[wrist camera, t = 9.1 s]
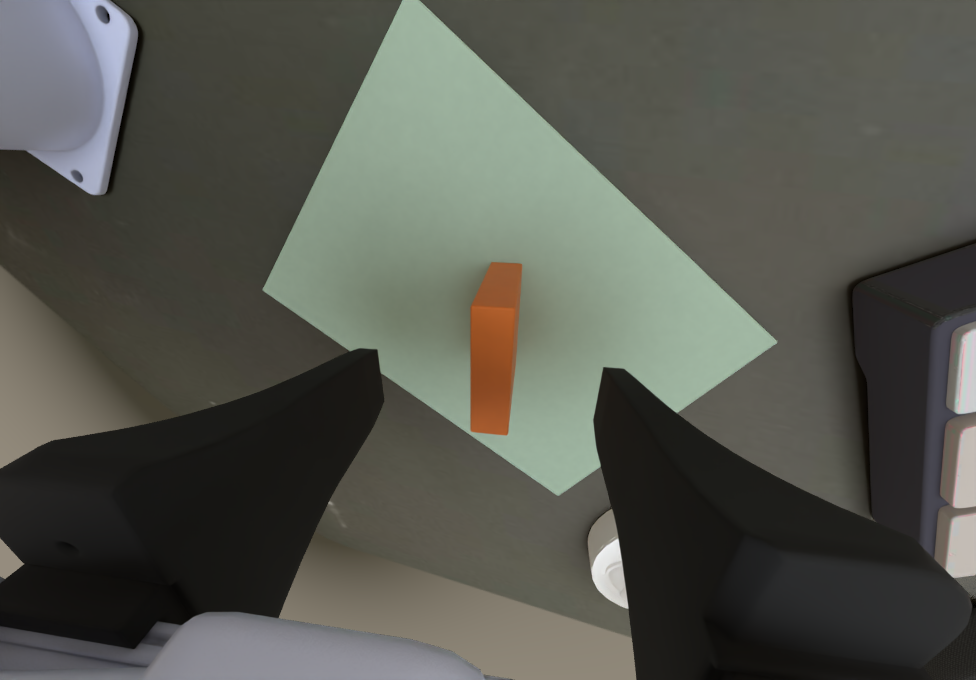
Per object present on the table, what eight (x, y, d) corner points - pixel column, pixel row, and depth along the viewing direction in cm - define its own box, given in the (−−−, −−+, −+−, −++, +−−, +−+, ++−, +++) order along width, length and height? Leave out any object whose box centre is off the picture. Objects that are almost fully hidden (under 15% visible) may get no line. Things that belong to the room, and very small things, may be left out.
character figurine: (706, 478, 20) (896, 833, 9) (756, 575, 23) (944, 929, 12) (564, 520, 23) (588, 827, 12) (625, 602, 26) (686, 907, 15)
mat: (267, 287, 18) (262, 290, 18) (411, -7, 12) (407, -12, 12) (557, 491, 22) (558, 496, 22) (773, 338, 16) (778, 342, 16)
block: (488, 360, 18) (469, 432, 13) (490, 261, 16) (470, 305, 11) (516, 361, 18) (507, 436, 13) (522, 263, 16) (515, 308, 11)
